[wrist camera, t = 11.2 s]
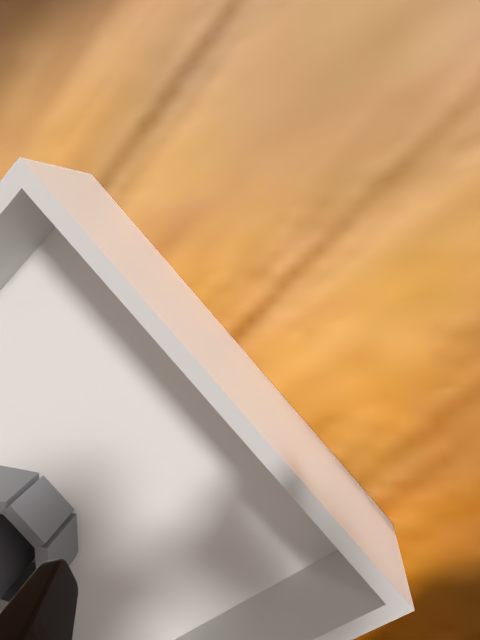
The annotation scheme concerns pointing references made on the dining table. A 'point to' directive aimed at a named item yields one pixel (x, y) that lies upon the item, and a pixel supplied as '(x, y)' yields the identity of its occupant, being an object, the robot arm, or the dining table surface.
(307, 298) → the dining table surface
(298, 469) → the walled box
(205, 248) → the dining table surface
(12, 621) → the robot arm
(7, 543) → the capped peg
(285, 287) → the dining table surface
